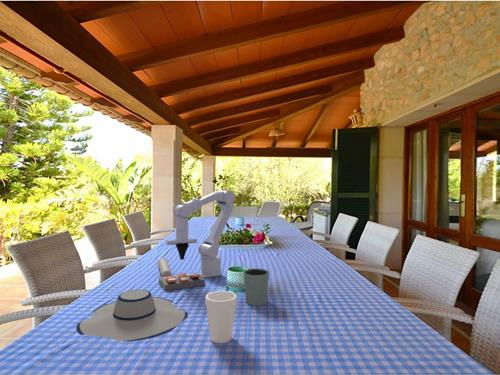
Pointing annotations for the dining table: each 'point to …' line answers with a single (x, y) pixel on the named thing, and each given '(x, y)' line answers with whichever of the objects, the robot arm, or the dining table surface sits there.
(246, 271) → the grey-green pot
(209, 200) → the robot arm
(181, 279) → the rocker
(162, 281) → the switch panel
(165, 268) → the tube
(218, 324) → the foam cup
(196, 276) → the rocker
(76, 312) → the dining table surface
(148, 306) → the sun hat
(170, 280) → the rocker
